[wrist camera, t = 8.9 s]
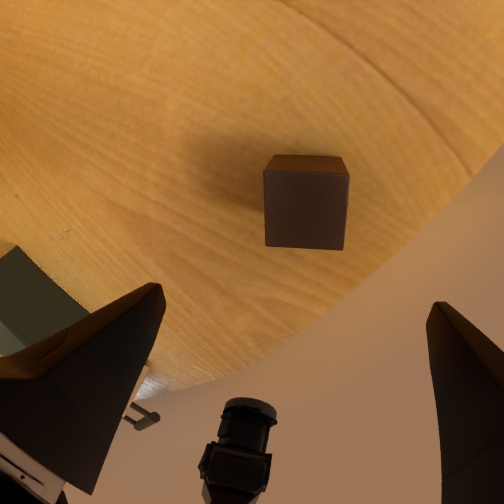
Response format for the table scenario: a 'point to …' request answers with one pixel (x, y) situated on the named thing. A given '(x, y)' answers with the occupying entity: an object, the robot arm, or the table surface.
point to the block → (305, 202)
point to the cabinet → (31, 304)
